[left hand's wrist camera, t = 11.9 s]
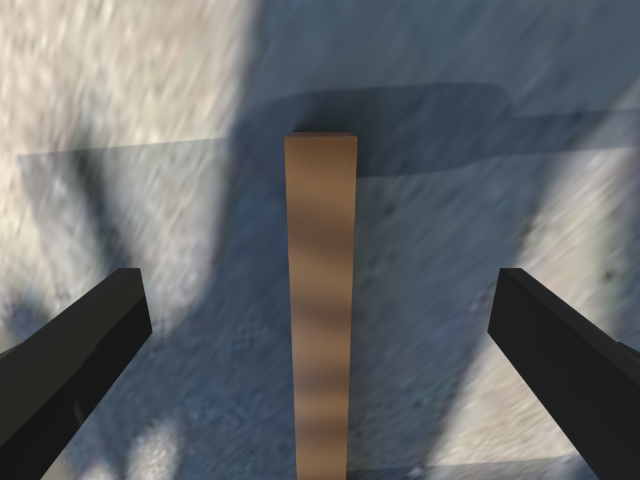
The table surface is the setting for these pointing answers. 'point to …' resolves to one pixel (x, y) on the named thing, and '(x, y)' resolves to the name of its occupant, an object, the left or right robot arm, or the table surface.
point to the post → (320, 294)
